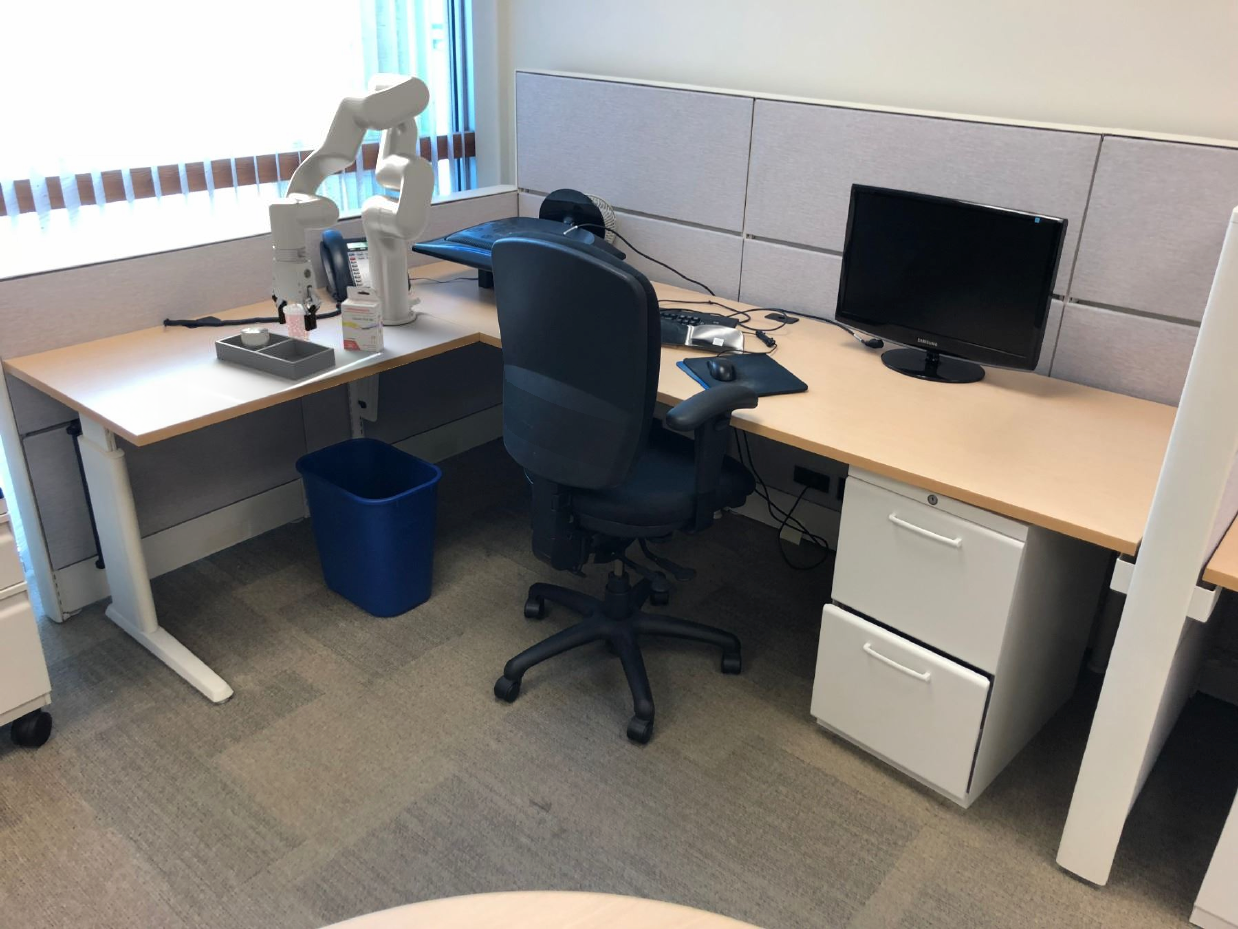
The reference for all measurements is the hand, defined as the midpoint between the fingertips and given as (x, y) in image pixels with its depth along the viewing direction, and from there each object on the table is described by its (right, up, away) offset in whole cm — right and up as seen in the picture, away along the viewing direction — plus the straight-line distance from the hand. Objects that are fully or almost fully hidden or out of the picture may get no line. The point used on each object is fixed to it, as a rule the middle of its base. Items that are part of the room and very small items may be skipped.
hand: (298, 325), depth 239 cm
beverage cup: (0, -4, +2) cm, 5 cm away
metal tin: (-7, -8, -9) cm, 14 cm away
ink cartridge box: (+16, -6, 0) cm, 17 cm away
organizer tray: (-1, -10, -11) cm, 15 cm away
